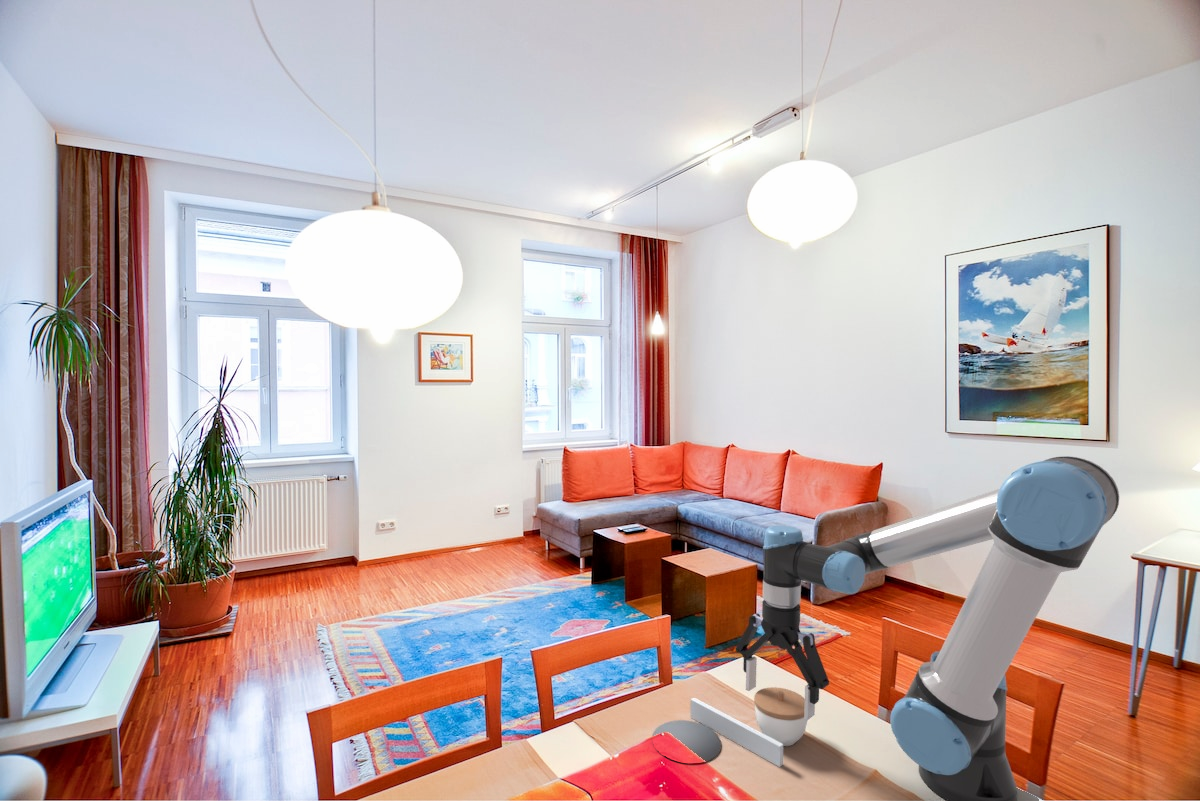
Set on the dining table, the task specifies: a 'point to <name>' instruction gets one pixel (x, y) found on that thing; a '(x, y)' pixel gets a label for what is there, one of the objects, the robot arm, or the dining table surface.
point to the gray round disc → (693, 737)
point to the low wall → (737, 732)
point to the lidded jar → (780, 714)
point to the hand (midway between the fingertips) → (778, 702)
